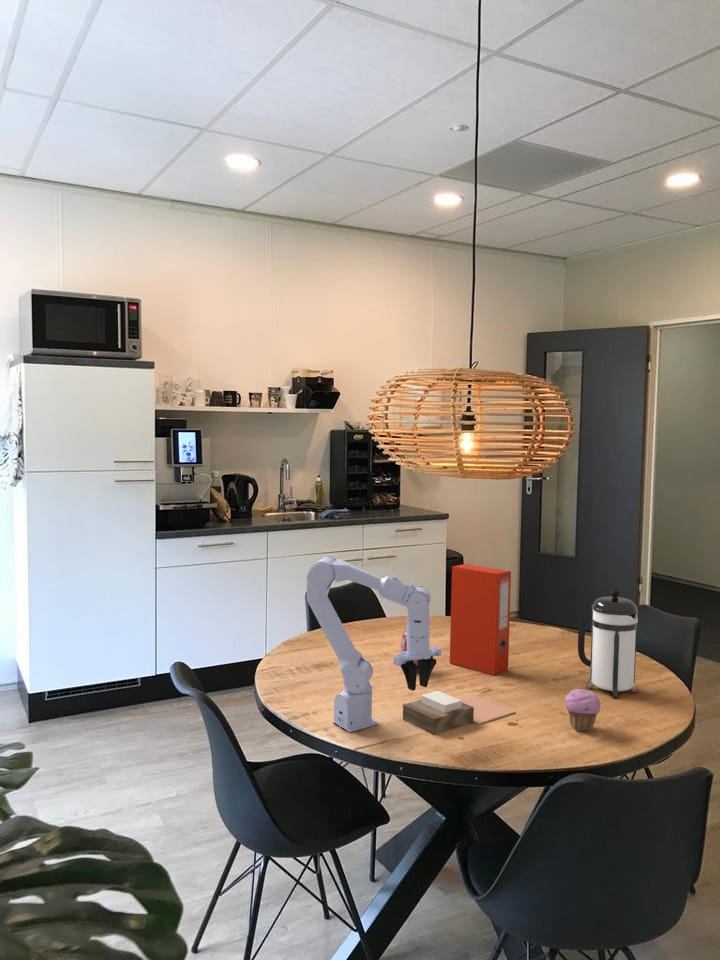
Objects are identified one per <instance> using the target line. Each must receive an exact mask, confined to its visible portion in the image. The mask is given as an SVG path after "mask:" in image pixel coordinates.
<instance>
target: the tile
mask: <svg viewBox="0 0 720 960" xmlns="http://www.w3.org/2000/svg"><path fill="white" fill-rule="evenodd" d="M420 700H421V703H423V704H425V705H428V706H430V707H432V708H434V709H437V710H439V711H441V712H443V713H446V712H450V711H453V710H456V709H460V708H461V705H462V700H459V698H456V697H454V696H452V695H449V694H447V693H445V692H443V691H439V690H435V691H433V692H428V693H425V694H422V695H421V697H420Z"/></svg>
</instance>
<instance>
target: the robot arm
mask: <svg viewBox="0 0 720 960" xmlns="http://www.w3.org/2000/svg"><path fill="white" fill-rule="evenodd" d="M398 578H399V577H398V575H394V574H393V576H390V575H386V576H384V577H380V576H377V575H375V574H374V573H371V572H369V571H367V570H365V569H362V568H360V567H358V566H356V565H353V564H352V563H349V562H347V561H345V560H344V559H340V558H337V559H336V557H333V556H330V555H326V556H322V557H321V558H320V559H319V560H318V561H316V562H314V563H312V565H311V566H310V568H309V570H308V573H307V575H306V577H305V579H306V602H307V604H308V605H309V607H310V608H311V610H312V612H313V614H314V616H315V619H316V620H317V622H318V624H319V626H320V627H321V629H322V631H323V633H324V635H325V637H326V639H327V641H328V643H329V644H330V646H331V648H332V650H333V652H334V654H335V656H336V657H337V659H338V662H339V670H340V673H341V674H342V679H343V686H344V687H343V690H342V691H341V692H340V693H338V694H336V695H335V696H334V701H333V703H334V704H333V705H334V706H333V720H332V721H333V722H334V723H336V724H337V725H336V724H335V725H336V726H338V725H339V726H338V727H339V728H341V727H342V729H343V728H344V729H343V730H345V729H346V730H345V731H347V732H349V733H351V732H355V731H358V730H362V729H366V728H370V727H373V726H377V725H379V724H380V723H379V721H378V720H375V719H374V718H372V717H373V715H372V714H373V709H372V708H373V687H372V685H371V683H370V680H371V678H372V677H373V674H374V671H373V670H374V668H373V666H372V664H371V663H370V662H369V661H368V660H366V659H365V658H364V656H363V654H362V653H361V652H360V651H359V650H357V649H356V647H355V645H354V644H353V642H352V639H351V638H350V636H349V634H348V632H347V631H346V628H345V627H344V625H343V623H342V621H341V619H340V617H339V616H338V613H337V611H336V610H335V608H334V606H333V604H332V602H331V600H330V598H329V596H328V594H329V593H330V590H331V586H332V583H333V582H335V583H339V582H344V581H350V582H353V583H356V584H359V585H362V586H365V587H368V588H370V589H372V590H373V589H374V590H377V592H378V595H379V596H380V598H383V599H386V600H388V601H390V602H393V603H395V604H397V605H399V606H404V607H405V606H406V608H407V618H406V631H407V651H406V652H404V653H402V654H401V653H399V654H397V655H395V656H393V665H395V666H398V667H399V666H400V668H401V671H402V672H403V674H404V677H405V681H406V685H407V689H408V690H411V691H413V692H414V691H416V687H417V677H418V679H419V680H418V681H419V686H420V687H423V688H428V684H429V682H430V681H429V680H430V678H431V674H432V672H433V669H434V668H435V666H436V665H437V659H436V658H434V657H442V648H441V647H438V646H433V647H430V626H431V625H430V624H431V623H430V620H431V619H430V618H431V617H430V605H431V604H430V603H431V593H430V592H429V590H428V589H427V588H425V587H424V586H422V585H416V584H415V583H411V584H410V583H408V582H405V581H403V580H401V579H398ZM414 661H417V662H418V665H416V664H415V663H414ZM418 669H419V671H418ZM418 674H419V675H418ZM417 675H418V676H417ZM333 722H332V723H333ZM334 723H333V724H334Z"/></svg>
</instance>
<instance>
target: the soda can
mask: <svg viewBox="0 0 720 960" xmlns="http://www.w3.org/2000/svg"><path fill="white" fill-rule="evenodd" d="M406 651H407V630H403V632H402V636H401V638H400V654H402V653H404V652H406ZM414 663H415V664H416V665H418V662H417V661H414ZM418 672H419V669H418Z"/></svg>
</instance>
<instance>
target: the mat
mask: <svg viewBox="0 0 720 960" xmlns="http://www.w3.org/2000/svg"><path fill="white" fill-rule="evenodd" d="M458 699H459V700H462V703H465V704H467V705H469V706H472V707H474V719H473V723H474V724H476V725H478V726H480V725H483V724H485V723H489V722H492V721H495V720H498V719H502V718H504V717H507V716H511V715H514V714H516V711H515V710H512V709H511V708H507V707H505V706H503V705H500V704H497V703H495V702H493V701H490V700H487V699H485V698H483V697H480V696H477V695H475V694H470V695H467V696H466V695H465V696H463V697H459V698H458Z"/></svg>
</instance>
